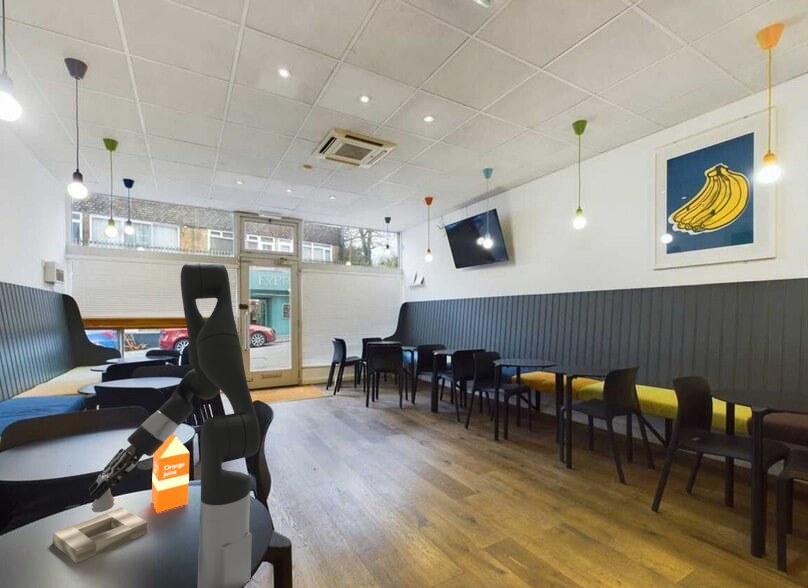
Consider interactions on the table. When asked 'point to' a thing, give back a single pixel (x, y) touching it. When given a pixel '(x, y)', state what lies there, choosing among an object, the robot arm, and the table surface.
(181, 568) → the table surface
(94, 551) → the wooden square ring
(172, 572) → the table surface
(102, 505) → the rook chess piece
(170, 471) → the orange juice
